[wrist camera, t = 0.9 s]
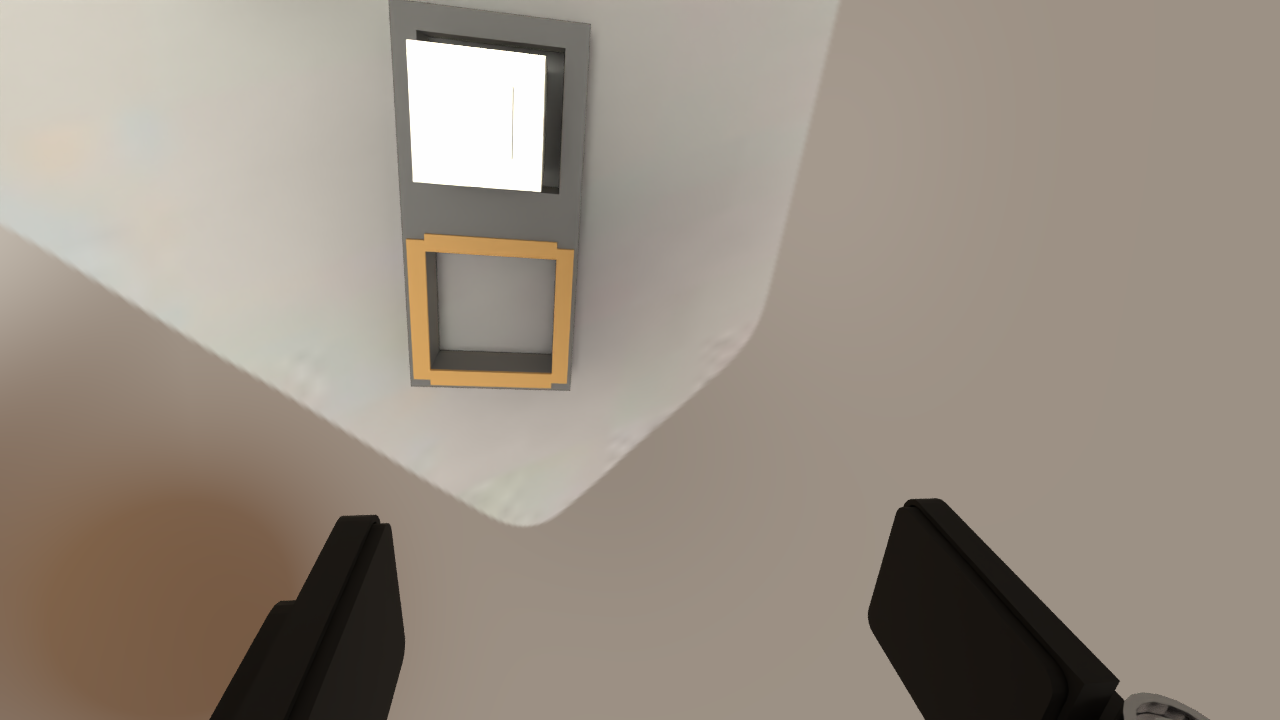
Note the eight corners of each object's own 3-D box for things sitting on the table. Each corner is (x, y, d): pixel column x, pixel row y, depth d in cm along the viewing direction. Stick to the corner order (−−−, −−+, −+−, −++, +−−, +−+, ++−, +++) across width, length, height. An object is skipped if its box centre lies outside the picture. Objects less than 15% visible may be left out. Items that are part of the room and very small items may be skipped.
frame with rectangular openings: (403, 7, 26) (387, -3, 23) (587, 31, 27) (591, 23, 24) (421, 366, 32) (409, 388, 30) (568, 371, 33) (570, 392, 31)
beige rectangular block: (446, 57, 27) (403, 38, 19) (547, 68, 27) (545, 55, 20) (449, 162, 28) (411, 182, 21) (544, 170, 29) (540, 193, 21)
